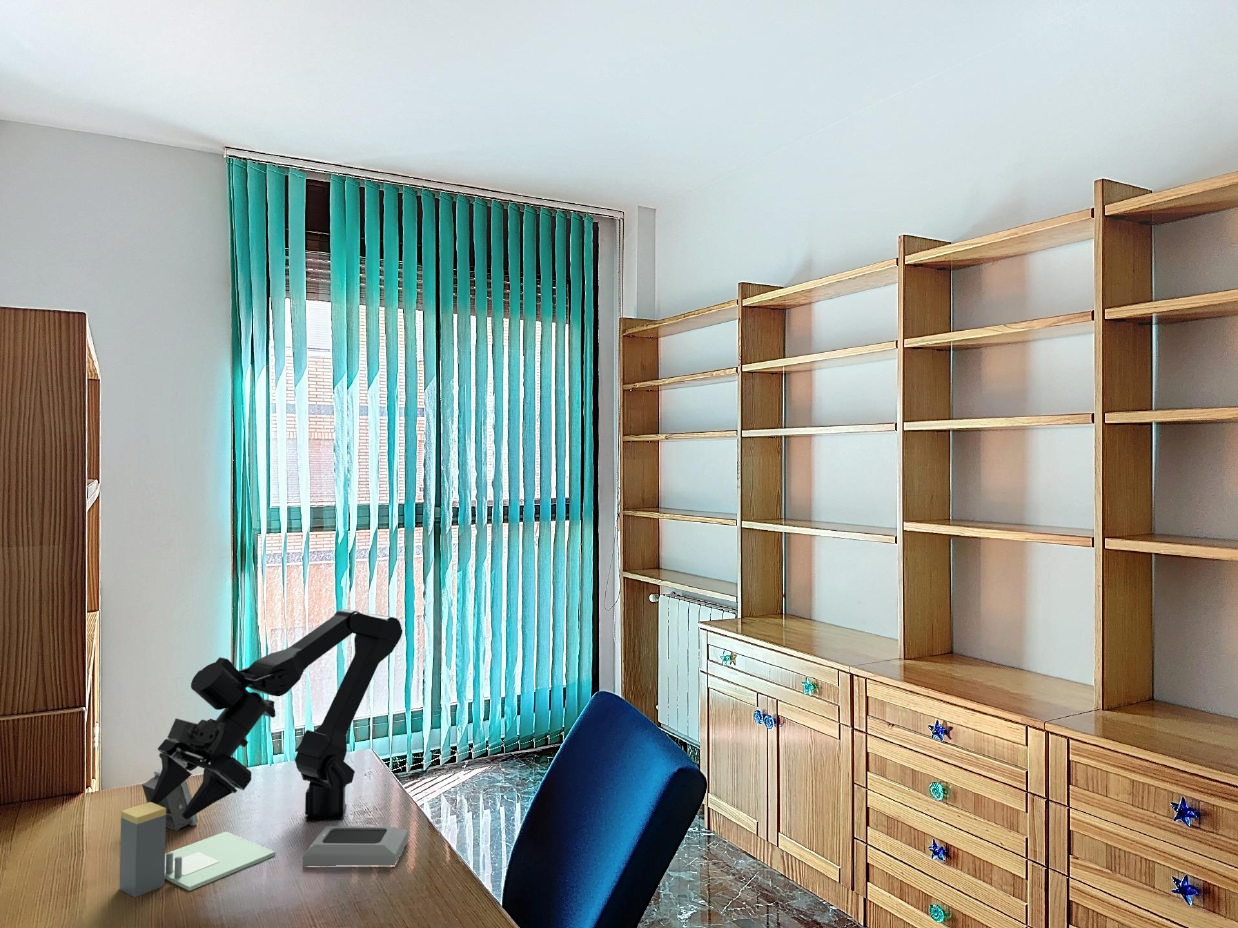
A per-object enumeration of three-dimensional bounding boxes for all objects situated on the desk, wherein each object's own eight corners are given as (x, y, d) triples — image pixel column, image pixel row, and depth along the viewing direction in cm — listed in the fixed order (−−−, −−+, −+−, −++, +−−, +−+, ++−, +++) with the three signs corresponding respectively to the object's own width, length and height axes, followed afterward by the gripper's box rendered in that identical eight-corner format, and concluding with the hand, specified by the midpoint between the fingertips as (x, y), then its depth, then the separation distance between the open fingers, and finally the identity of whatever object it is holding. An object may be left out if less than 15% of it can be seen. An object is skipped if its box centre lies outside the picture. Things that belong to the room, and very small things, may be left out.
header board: (225, 834, 154) (226, 814, 154) (275, 855, 146) (275, 833, 146) (140, 866, 141) (140, 844, 141) (189, 890, 134) (189, 867, 134)
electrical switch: (199, 825, 158) (195, 775, 157) (171, 837, 153) (167, 786, 153) (170, 813, 163) (166, 765, 162) (142, 825, 158) (138, 775, 158)
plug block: (148, 877, 138) (150, 801, 138) (164, 885, 135) (166, 808, 135) (119, 888, 134) (121, 810, 134) (135, 897, 131) (136, 817, 131)
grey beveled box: (395, 847, 142) (302, 847, 142) (394, 870, 142) (302, 869, 142) (408, 823, 152) (321, 823, 152) (407, 844, 152) (321, 844, 152)
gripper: (170, 689, 147) (100, 772, 138) (236, 707, 137) (165, 798, 128) (213, 725, 154) (148, 807, 145) (278, 745, 144) (214, 834, 134)
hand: (167, 810), depth 138 cm, fingers open, 9 cm apart
